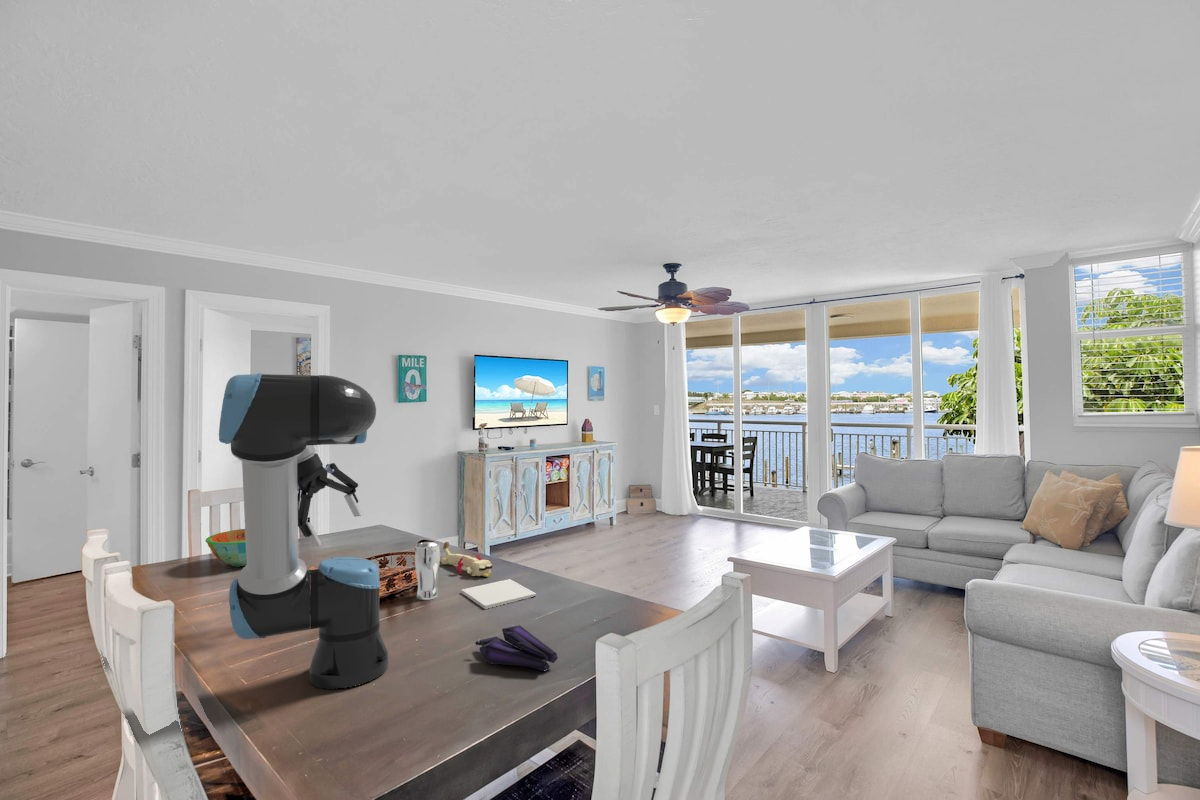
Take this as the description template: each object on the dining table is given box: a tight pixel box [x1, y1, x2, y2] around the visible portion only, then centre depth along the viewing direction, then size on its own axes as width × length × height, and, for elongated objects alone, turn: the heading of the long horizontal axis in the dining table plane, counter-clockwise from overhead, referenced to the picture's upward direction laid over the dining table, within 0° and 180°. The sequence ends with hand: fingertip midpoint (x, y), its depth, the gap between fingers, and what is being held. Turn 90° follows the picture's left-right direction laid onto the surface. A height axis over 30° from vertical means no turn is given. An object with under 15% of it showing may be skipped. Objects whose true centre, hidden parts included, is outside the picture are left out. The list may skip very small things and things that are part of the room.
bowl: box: [205, 528, 247, 568], centre depth 195 cm, size 22×22×10 cm
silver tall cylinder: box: [414, 541, 441, 601], centre depth 164 cm, size 7×7×15 cm
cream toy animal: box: [440, 541, 493, 577], centre depth 189 cm, size 10×9×25 cm
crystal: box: [474, 625, 559, 672], centre depth 124 cm, size 7×12×20 cm
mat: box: [460, 578, 537, 610], centre depth 165 cm, size 16×16×1 cm
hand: (338, 529), depth 150 cm, fingers open, 13 cm apart
